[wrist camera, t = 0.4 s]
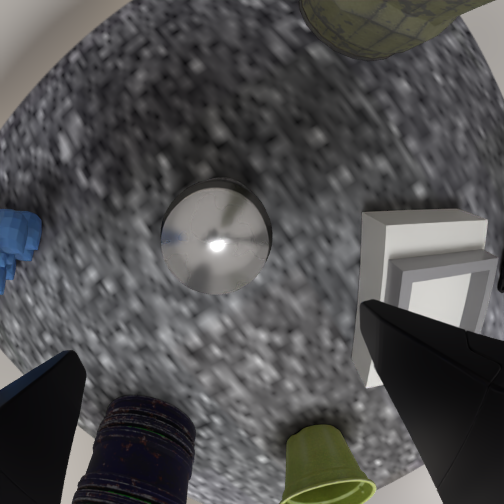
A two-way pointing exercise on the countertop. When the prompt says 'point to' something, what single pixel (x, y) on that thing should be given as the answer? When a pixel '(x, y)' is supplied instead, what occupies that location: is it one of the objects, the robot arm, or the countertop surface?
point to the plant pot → (323, 469)
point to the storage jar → (139, 455)
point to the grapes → (17, 240)
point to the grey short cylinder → (216, 236)
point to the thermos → (380, 23)
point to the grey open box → (424, 270)
